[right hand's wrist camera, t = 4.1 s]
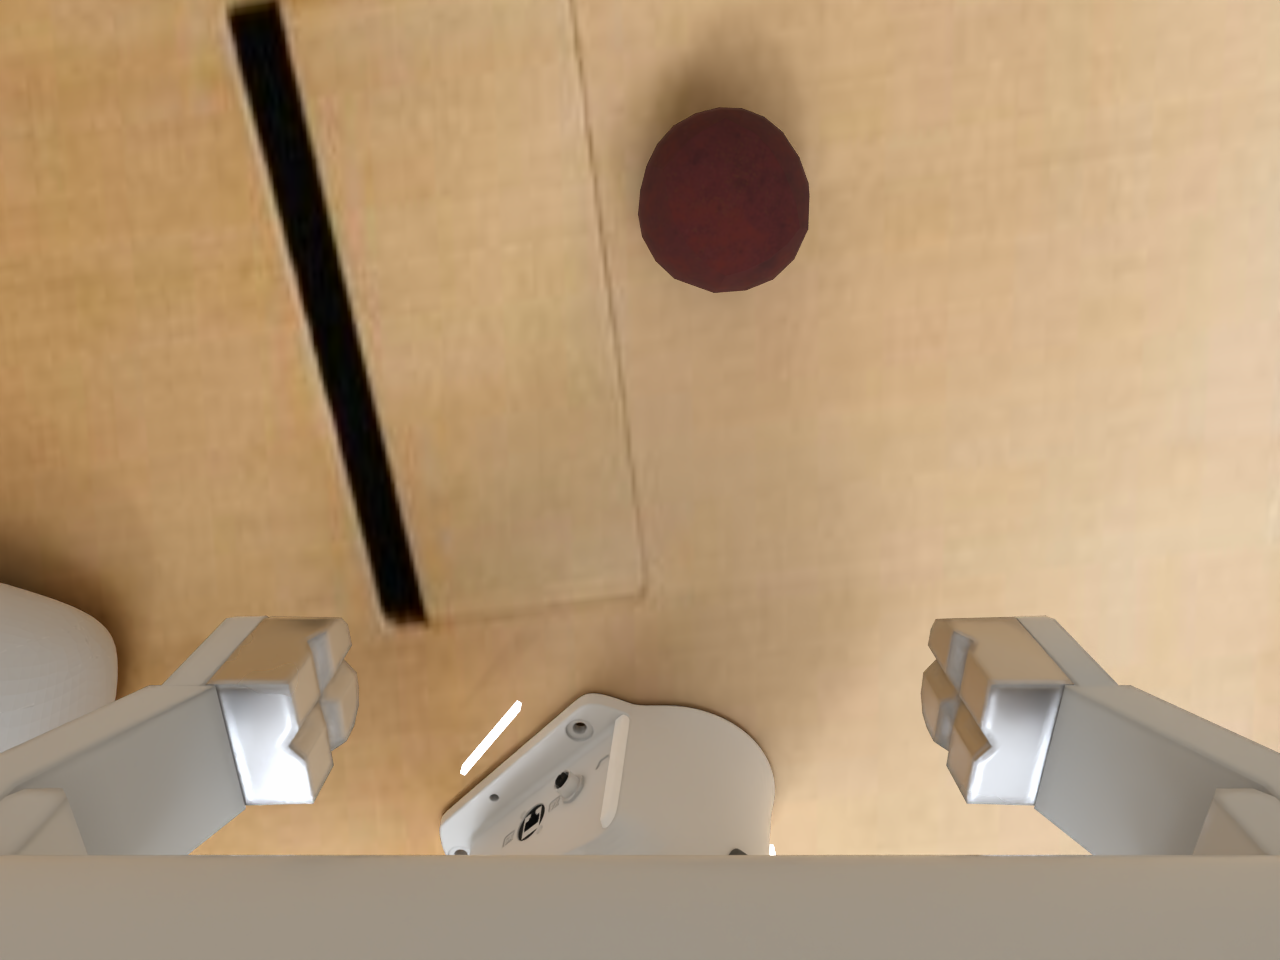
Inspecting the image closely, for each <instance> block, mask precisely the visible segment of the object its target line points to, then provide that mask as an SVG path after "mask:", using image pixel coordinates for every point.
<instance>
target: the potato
mask: <svg viewBox="0 0 1280 960" xmlns="http://www.w3.org/2000/svg"><path fill="white" fill-rule="evenodd" d="M638 216H639V222H640V227H641V233H642V237H643V239H644V241H645V243H646V244H647V246H648V248H649V250H650V252H651V253H652V255H653V257H654V259H655V261H656V262H657V263H658V264H659V265H661V266H662V267H663V268H664V269H665V270H666V271H667V272H668V273H669V274H670V275H671V276H672V277H673V278H674V279H677V280H680V281H683V282H685V283H688V284H691V285H694V286H697V287H699V288H702V289H705V290H708V291H711V292H713V293H718V292H730V291H743V290H748V289H750V288H753V287H755V286H758V285H760V284H763V283H765V282H768V281H770V280H773V279H774V278H775V277H776V276H777V275H778V274H779V273H780V272H781V271H782V270H783V269H784V268H785V267H786V266H787V265H789V264H790V263H791V262H792V261H793V260H794V258H795V256H796V254H797V252H798V250H799V248H800V245H801V243H802V241H803V239H804V237H805V235H806V232H807V230H808V219H809V184H808V181H807V178H806V175H805V172H804V169H803V167H802V164H801V161H800V158H799V156H798V155H797V153H796V152H795V150H794V149H793V147H792V146H791V144H790V143H789V141H788V140H787V138H786V137H785V135H784V134H783V132H782V131H781V130H779V129H778V128H777V127H776V126H775V125H773V124H772V123H771V122H770V121H768V120H767V119H766V118H765V117H763V116H760V115H758V114H755V113H753V112H750V111H748V110H745V109H742V108H715V109H711V110H707V111H703V112H699V113H695V114H694V115H692V116H690V117H688V118H687V119H685V120H683V121H681V122H679V123H678V124H676V125H674V126H673V127H672V128H671V129H670V130H669V131H668V133H667V134H666V135H665V136H664V137H663V138H662V139H661V141H660V142H659V143H658V144H657V146H656V148H655V150H654V152H653V154H652V156H651V158H650V160H649V162H648V164H647V166H646V170H645V174H644V178H643V182H642V186H641V190H640V200H639V211H638Z"/></svg>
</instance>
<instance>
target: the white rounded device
mask: <svg viewBox="0 0 1280 960" xmlns="http://www.w3.org/2000/svg"><path fill="white" fill-rule="evenodd" d="M117 679H118V659H117V652H116V646H115V644H114V641H113V639H112V636H111V635H110V633H109V632H108V630H107V629H106V628H105V627H104V626H103V625H102V624H101V623H100V622H99V621H97V620H96V619H95V618H93V617H92V616H90V615H89V614H87V613H85V612H83V611H81V610H79V609H77V608H75V607H73V606H70V605H68V604H65V603H63V602H60V601H58V600H55V599H52V598H49V597H46V596H43V595H40V594H37V593H34V592H31V591H27V590H24V589H21V588H17V587H14V586H11V585H7V584H3V583H0V753H2V752H4V751H6V750H8V749H10V748H13V747H15V746H17V745H19V744H21V743H24V742H26V741H28V740H30V739H32V738H35V737H37V736H39V735H41V734H43V733H46V732H48V731H50V730H52V729H54V728H57V727H59V726H61V725H63V724H65V723H68V722H70V721H72V720H74V719H76V718H79V717H81V716H83V715H85V714H87V713H90V712H92V711H94V710H96V709H98V708H101V707H103V706H105V705H107V704H109V703H112V702H114V701H115V698H116V690H117Z"/></svg>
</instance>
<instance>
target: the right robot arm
mask: <svg viewBox="0 0 1280 960" xmlns="http://www.w3.org/2000/svg"><path fill="white" fill-rule="evenodd" d="M351 646H352V643H351V638H350V633H349V628H348V624H347V623H346V622H345V621H344V620H343V619H342V618H328V617H277V616H272V617H268V616H235V617H231V618H226V619H225V620H224V621H223V622H222V623H221V624H220V625H219V626H218V627H217V628H216V629H215V631H214V632H213V633H212V634H211V635H210V636H209V637H208V638H207V639H206V640H205V641H204V642H203V643H202V644H201V645H200V646H199V647H198V648H197V649H196V650H195V651H194V652H193V653H192V654H191V655H190V656H189V657H188V658H187V659H186V660H185V661H184V662H183V663H182V665H181V666H180V667H179V668H178V669H177V670H176V671H175V672H174V673H173V674H172V675H171V676H170V677H169V678H168V679H167V680H166V681H165V682H164V683H163V684H162V685H149V686H147V687H145V688H142V689H140V690H138V691H136V692H134V693H131V694H129V695H127V696H125V697H123V698H120V699H118V700H116V701H114V702H112V703H109V704H107V705H105V706H103V707H101V708H98V709H96V710H94V711H92V712H90V713H87V714H85V715H83V716H81V717H79V718H76V719H74V720H72V721H70V722H68V723H65V724H63V725H61V726H59V727H57V728H54V729H52V730H50V731H48V732H46V733H43V734H41V735H39V736H37V737H35V738H32V739H30V740H28V741H26V742H24V743H21V744H19V745H17V746H15V747H13V748H10V749H8V750H6V751H4V752H2V753H0V960H1280V753H1278V752H1276V751H1274V750H1271V749H1269V748H1267V747H1265V746H1263V745H1260V744H1258V743H1256V742H1254V741H1252V740H1249V739H1247V738H1245V737H1243V736H1241V735H1238V734H1236V733H1234V732H1232V731H1230V730H1227V729H1225V728H1223V727H1221V726H1219V725H1217V724H1214V723H1212V722H1210V721H1208V720H1206V719H1203V718H1201V717H1199V716H1197V715H1195V714H1192V713H1190V712H1188V711H1186V710H1184V709H1181V708H1179V707H1177V706H1175V705H1173V704H1170V703H1168V702H1166V701H1164V700H1162V699H1159V698H1157V697H1155V696H1153V695H1151V694H1149V693H1146V692H1144V691H1142V690H1140V689H1138V688H1135V687H1133V686H1131V685H1118V684H1117V683H1116V682H1115V681H1114V680H1113V679H1112V678H1111V677H1110V676H1109V675H1108V674H1107V673H1106V672H1105V671H1104V670H1103V669H1102V668H1101V667H1100V665H1099V664H1098V663H1097V662H1096V661H1095V660H1094V659H1093V658H1092V657H1091V656H1090V655H1089V654H1088V653H1087V652H1086V651H1085V650H1084V649H1083V648H1082V647H1081V646H1080V645H1079V644H1078V643H1077V642H1076V641H1075V640H1074V639H1073V638H1072V637H1071V635H1070V634H1069V633H1068V632H1067V631H1066V630H1065V629H1064V628H1063V627H1062V626H1061V625H1060V624H1059V623H1058V622H1057V621H1056V620H1055V619H1053V618H1050V617H1048V616H1021V617H992V618H952V619H936V620H935V622H934V624H933V626H932V628H931V631H930V637H929V642H928V646H929V648H930V649H931V651H932V653H933V654H934V656H935V657H936V660H935V661H934V662H933V663H932V664H931V665H930V666H929V667H928V668H927V669H926V670H925V671H924V672H923V680H922V688H921V702H922V713H923V716H924V720H925V723H926V727H927V729H928V731H929V733H930V735H931V737H932V739H933V741H934V742H936V743H937V744H939V745H940V746H942V747H943V748H945V749H946V750H948V751H949V753H948V759H947V765H946V766H947V767H948V769H949V771H950V773H951V775H952V777H953V779H954V780H955V782H956V784H957V786H958V788H959V790H960V792H961V793H962V795H963V797H964V799H965V801H966V803H968V804H1005V805H1035V807H1034V809H1036V810H1037V811H1038V812H1039V813H1041V814H1042V815H1043V816H1044V817H1046V818H1047V819H1048V820H1049V821H1051V822H1052V823H1053V824H1054V825H1056V826H1057V827H1058V828H1060V829H1061V830H1062V831H1063V832H1065V833H1066V834H1067V835H1068V836H1070V837H1071V838H1072V839H1073V840H1075V841H1076V842H1077V843H1078V844H1080V845H1081V846H1082V847H1083V848H1085V849H1086V850H1087V851H1088V852H1090V853H1091V854H1092V855H775V850H774V845H770V827H771V815H772V808H773V804H774V797H775V782H774V776H773V772H772V769H771V766H770V764H769V761H768V759H767V757H766V756H765V754H764V752H763V751H762V749H761V748H760V747H759V745H758V744H757V743H756V742H755V741H754V740H753V739H752V738H751V737H750V736H749V735H748V734H747V733H746V732H745V731H743V730H742V729H741V728H739V727H738V726H736V725H735V724H733V723H731V722H730V721H728V720H726V719H724V718H722V717H719V716H717V715H715V714H712V713H709V712H706V711H703V710H699V709H694V708H689V707H683V706H671V705H636V704H631V703H628V702H626V701H623V700H620V699H617V698H614V697H611V696H607V695H603V694H597V693H589V694H585V695H583V696H581V697H579V698H578V699H577V700H575V701H574V702H573V703H572V704H571V705H570V706H568V707H567V708H566V709H565V710H564V711H563V712H561V713H560V714H559V715H558V716H557V717H556V718H554V719H553V720H552V721H551V722H550V723H549V724H547V725H546V726H545V727H544V728H543V729H542V730H540V731H539V732H538V733H537V734H536V735H535V736H533V737H532V738H531V739H530V740H529V741H528V742H526V743H525V744H524V745H523V746H522V747H521V748H519V749H518V750H517V751H516V752H515V753H514V754H512V755H511V756H510V757H509V758H508V759H507V760H506V761H504V762H503V763H502V764H501V765H500V766H499V767H497V768H496V769H495V770H494V771H493V772H492V773H490V774H489V775H488V776H487V777H486V778H485V779H483V780H482V781H481V782H480V783H479V784H478V785H476V786H475V787H474V788H473V789H472V790H471V791H469V792H468V793H467V794H466V795H465V796H464V797H462V798H461V799H460V800H459V801H458V802H457V803H455V804H454V805H453V806H452V807H451V808H450V809H449V810H447V811H446V813H445V814H444V815H443V816H442V818H441V823H440V830H439V831H440V838H441V843H442V847H443V849H444V852H445V854H446V855H188V854H189V853H191V852H192V851H193V850H194V849H196V848H197V847H198V846H199V845H201V844H202V843H203V842H204V841H206V840H207V839H208V838H209V837H211V836H212V835H213V834H214V833H216V832H217V831H218V830H219V829H221V828H222V827H223V826H225V825H226V824H227V823H228V822H230V821H231V820H232V819H233V818H235V817H236V816H237V815H238V814H240V813H241V812H242V811H243V810H245V808H246V807H245V805H274V804H310V803H314V801H315V799H316V797H317V795H318V793H319V792H320V790H321V788H322V786H323V784H324V782H325V780H326V779H327V777H328V775H329V773H330V771H331V769H332V767H333V766H334V765H333V759H332V753H331V751H332V750H334V749H335V748H337V747H338V746H340V745H341V744H343V743H344V742H346V741H347V739H348V737H349V735H350V733H351V731H352V729H353V727H354V724H355V719H356V715H357V710H358V706H359V685H358V679H357V672H356V671H355V670H354V669H353V668H352V667H351V666H350V665H349V664H348V663H347V662H346V661H345V660H344V657H345V656H346V654H347V653H348V651H349V649H350V648H351ZM521 704H522V703H520V702H519V701H516V703H515V704H514V705H513V706H512V707H511V708H510V710H509V711H508V712H507V713H506V714H505V715H504V717H503V718H502V719H501V720H500V721H499V723H498V724H497V725H496V726H495V727H494V728H493V730H492V731H491V732H490V733H489V734H488V735H487V737H486V738H485V739H484V740H483V741H482V743H481V744H480V745H479V746H478V747H477V748H476V750H475V751H474V752H473V753H472V754H471V755H470V757H469V758H468V759H467V760H466V761H465V762H464V764H463V765H462V768H461V772H460V773H461V774H463V775H465V774H466V773H467V772H468V771H469V770H470V768H471V767H472V766H473V765H474V764H475V763H476V761H477V760H478V759H479V758H480V757H481V756H482V754H483V753H484V752H485V751H486V750H487V749H488V747H489V746H490V745H491V744H492V743H493V742H494V740H495V739H496V738H497V737H498V736H499V735H500V733H501V732H502V731H503V730H504V729H505V728H506V726H507V725H508V724H509V723H510V722H511V721H512V719H513V718H514V717H515V716H516V715H517V714H518V712H519V711H520V708H521ZM579 722H580V723H584V724H585V725H583V726H578V725H576V723H579Z"/></svg>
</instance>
